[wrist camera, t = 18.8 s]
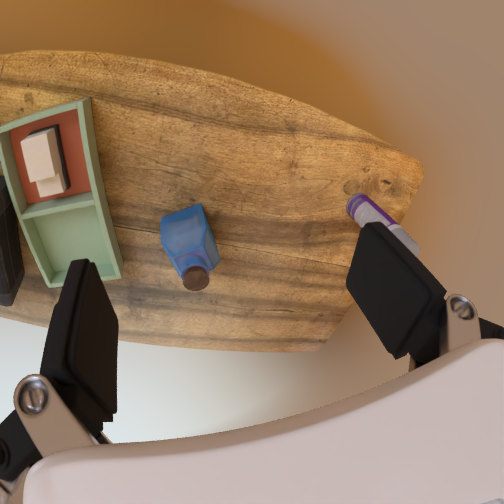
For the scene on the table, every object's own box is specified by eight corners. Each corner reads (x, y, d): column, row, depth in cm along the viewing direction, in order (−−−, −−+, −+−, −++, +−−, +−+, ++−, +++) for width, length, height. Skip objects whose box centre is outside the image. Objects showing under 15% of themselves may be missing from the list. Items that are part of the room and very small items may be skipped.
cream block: (31, 131, 27) (18, 140, 24) (58, 123, 28) (47, 131, 24) (45, 191, 32) (35, 205, 29) (71, 185, 33) (62, 199, 30)
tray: (53, 273, 41) (48, 288, 38) (6, 123, 25) (-7, 130, 22) (124, 263, 44) (122, 278, 41) (90, 96, 28) (82, 100, 25)
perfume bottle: (176, 249, 45) (182, 305, 36) (161, 218, 41) (161, 271, 32) (213, 236, 45) (228, 289, 36) (200, 203, 41) (212, 253, 32)
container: (371, 203, 49) (423, 252, 38) (354, 220, 51) (402, 273, 39) (360, 188, 47) (415, 237, 35) (341, 206, 48) (391, 260, 37)
